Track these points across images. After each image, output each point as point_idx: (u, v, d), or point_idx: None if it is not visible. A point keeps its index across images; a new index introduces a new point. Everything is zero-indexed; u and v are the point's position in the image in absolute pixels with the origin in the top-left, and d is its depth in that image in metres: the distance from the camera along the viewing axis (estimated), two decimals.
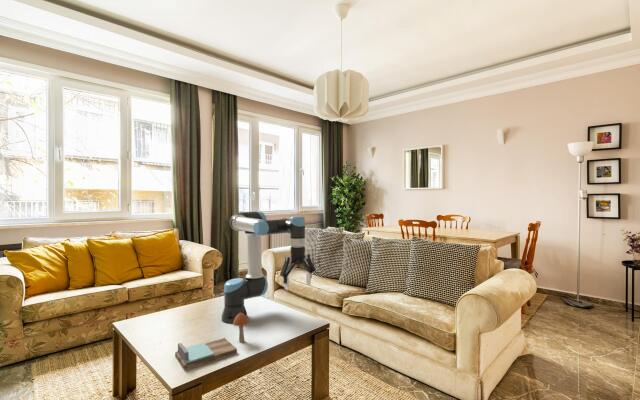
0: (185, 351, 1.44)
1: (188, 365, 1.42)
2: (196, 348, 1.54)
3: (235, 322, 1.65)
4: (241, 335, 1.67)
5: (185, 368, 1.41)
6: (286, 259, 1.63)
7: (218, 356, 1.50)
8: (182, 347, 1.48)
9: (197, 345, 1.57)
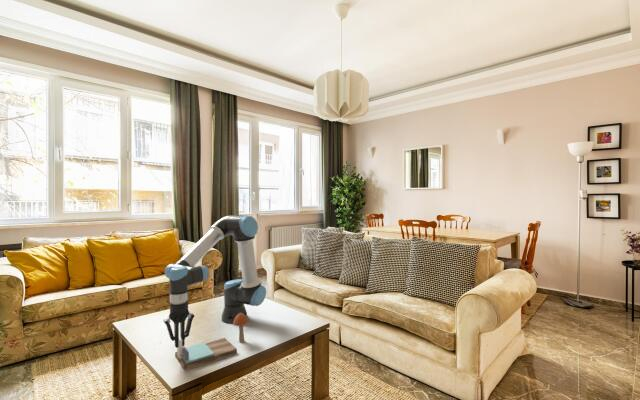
0: (185, 351, 1.44)
1: (188, 365, 1.42)
2: (197, 347, 1.54)
3: (235, 322, 1.65)
4: (241, 335, 1.67)
5: (185, 368, 1.41)
6: (165, 323, 1.43)
7: (218, 356, 1.50)
8: (182, 347, 1.48)
9: (197, 345, 1.57)
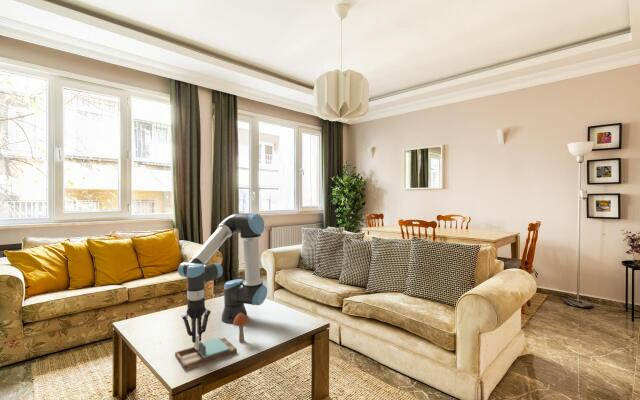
0: (202, 346, 1.49)
1: (188, 365, 1.42)
2: (212, 343, 1.59)
3: (235, 322, 1.65)
4: (241, 335, 1.67)
5: (185, 368, 1.41)
6: (183, 319, 1.47)
7: (218, 356, 1.50)
8: (199, 342, 1.52)
9: (213, 340, 1.62)
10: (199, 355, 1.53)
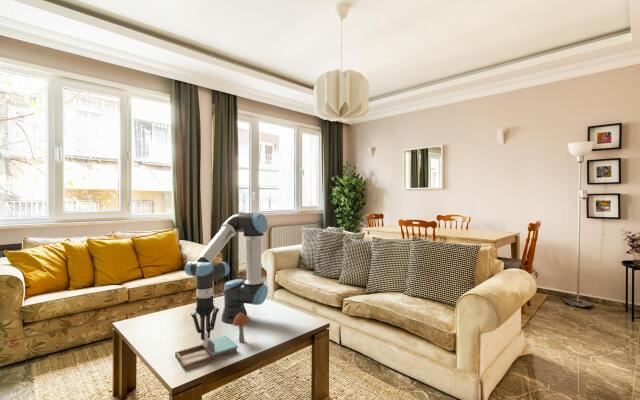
0: (211, 343, 1.51)
1: (188, 365, 1.42)
2: (220, 340, 1.62)
3: (235, 322, 1.65)
4: (241, 335, 1.67)
5: (185, 368, 1.41)
6: (192, 316, 1.50)
7: (218, 356, 1.50)
8: (208, 340, 1.55)
9: (220, 338, 1.64)
10: (199, 355, 1.53)
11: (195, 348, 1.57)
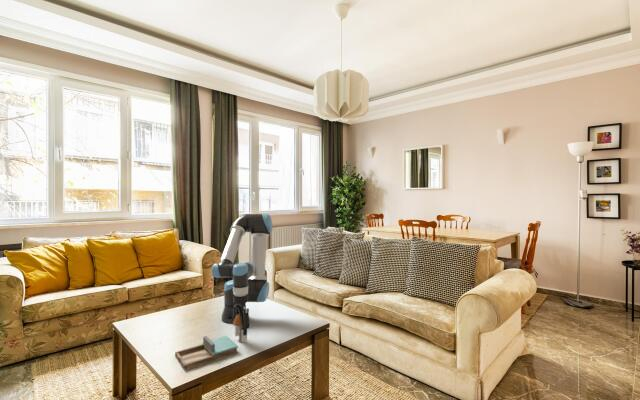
0: (211, 343, 1.51)
1: (188, 365, 1.42)
2: (220, 340, 1.62)
3: (235, 322, 1.65)
4: (241, 335, 1.67)
5: (185, 368, 1.41)
6: None
7: (218, 356, 1.50)
8: (208, 340, 1.55)
9: (221, 338, 1.64)
10: (199, 355, 1.53)
11: (195, 348, 1.57)
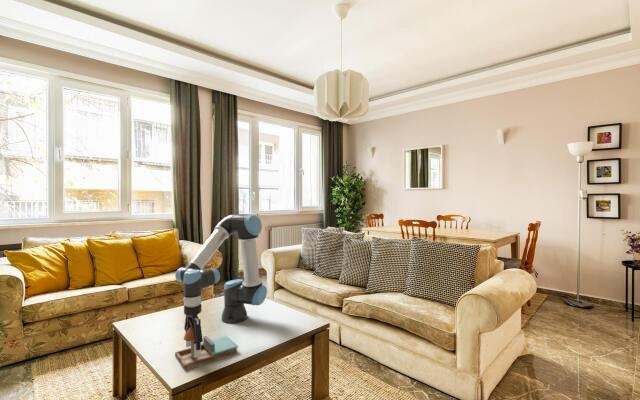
0: (211, 343, 1.51)
1: (188, 365, 1.42)
2: (220, 340, 1.62)
3: (186, 337, 1.47)
4: (193, 351, 1.49)
5: (185, 368, 1.41)
6: None
7: (218, 356, 1.50)
8: (208, 340, 1.55)
9: (221, 338, 1.64)
10: None
11: None
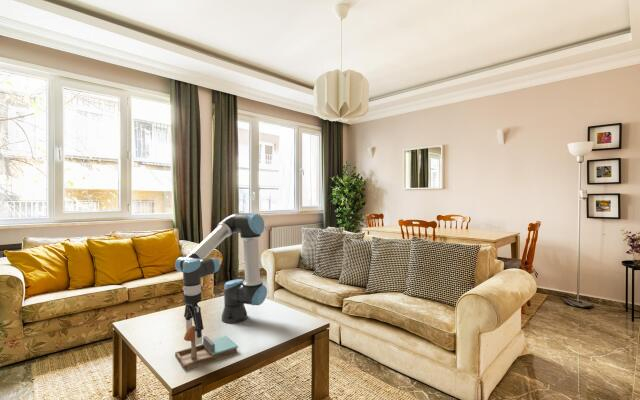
0: (211, 343, 1.51)
1: (188, 365, 1.42)
2: (220, 340, 1.62)
3: (186, 337, 1.47)
4: (193, 351, 1.49)
5: (185, 368, 1.41)
6: None
7: (218, 356, 1.50)
8: (208, 340, 1.55)
9: (221, 338, 1.64)
10: (199, 355, 1.53)
11: None
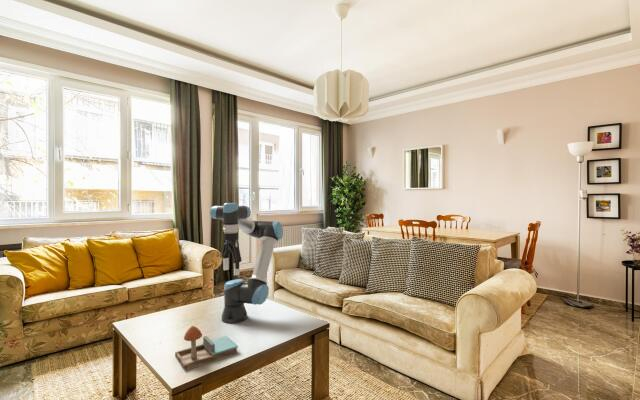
0: (211, 343, 1.51)
1: (188, 365, 1.42)
2: (220, 340, 1.62)
3: (186, 337, 1.47)
4: (193, 351, 1.49)
5: (185, 368, 1.41)
6: None
7: (218, 356, 1.50)
8: (208, 340, 1.55)
9: (221, 338, 1.64)
10: (199, 355, 1.53)
11: None
